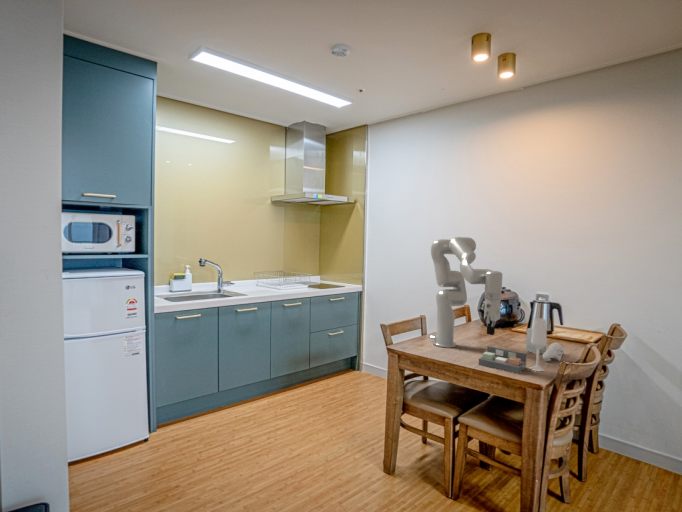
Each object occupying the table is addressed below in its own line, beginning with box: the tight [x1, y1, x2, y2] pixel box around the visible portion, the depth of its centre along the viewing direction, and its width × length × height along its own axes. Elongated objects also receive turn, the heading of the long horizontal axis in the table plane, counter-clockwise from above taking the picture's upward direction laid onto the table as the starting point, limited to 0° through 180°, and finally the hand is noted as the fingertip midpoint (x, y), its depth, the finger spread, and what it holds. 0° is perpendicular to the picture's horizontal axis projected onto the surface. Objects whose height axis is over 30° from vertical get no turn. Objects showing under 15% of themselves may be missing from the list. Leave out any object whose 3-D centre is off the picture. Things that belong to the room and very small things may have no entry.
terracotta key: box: [508, 357, 521, 366], centre depth 187 cm, size 4×4×2 cm
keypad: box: [478, 345, 528, 374], centre depth 192 cm, size 18×12×7 cm, turn 50°
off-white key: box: [495, 357, 508, 363], centre depth 190 cm, size 4×4×2 cm
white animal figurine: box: [541, 342, 564, 362], centre depth 204 cm, size 6×8×12 cm
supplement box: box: [525, 327, 548, 355], centre depth 219 cm, size 7×7×13 cm
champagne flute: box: [529, 317, 548, 371], centre depth 188 cm, size 7×7×24 cm
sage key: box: [481, 351, 495, 360], centre depth 194 cm, size 4×4×2 cm
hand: (490, 334), depth 194 cm, fingers closed
